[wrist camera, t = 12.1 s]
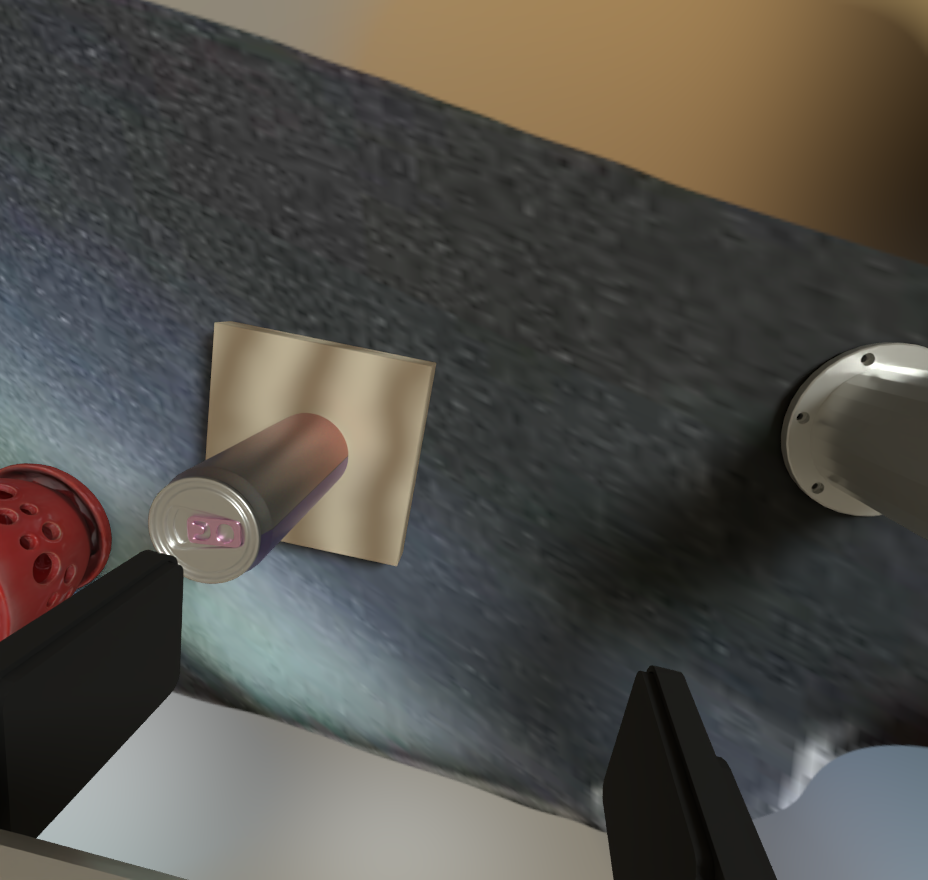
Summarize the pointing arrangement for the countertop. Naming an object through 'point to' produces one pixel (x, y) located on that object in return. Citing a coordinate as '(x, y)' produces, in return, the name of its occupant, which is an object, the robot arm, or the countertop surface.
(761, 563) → the countertop surface
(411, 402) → the birch board
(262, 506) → the beverage can
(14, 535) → the plant pot
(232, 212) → the countertop surface
